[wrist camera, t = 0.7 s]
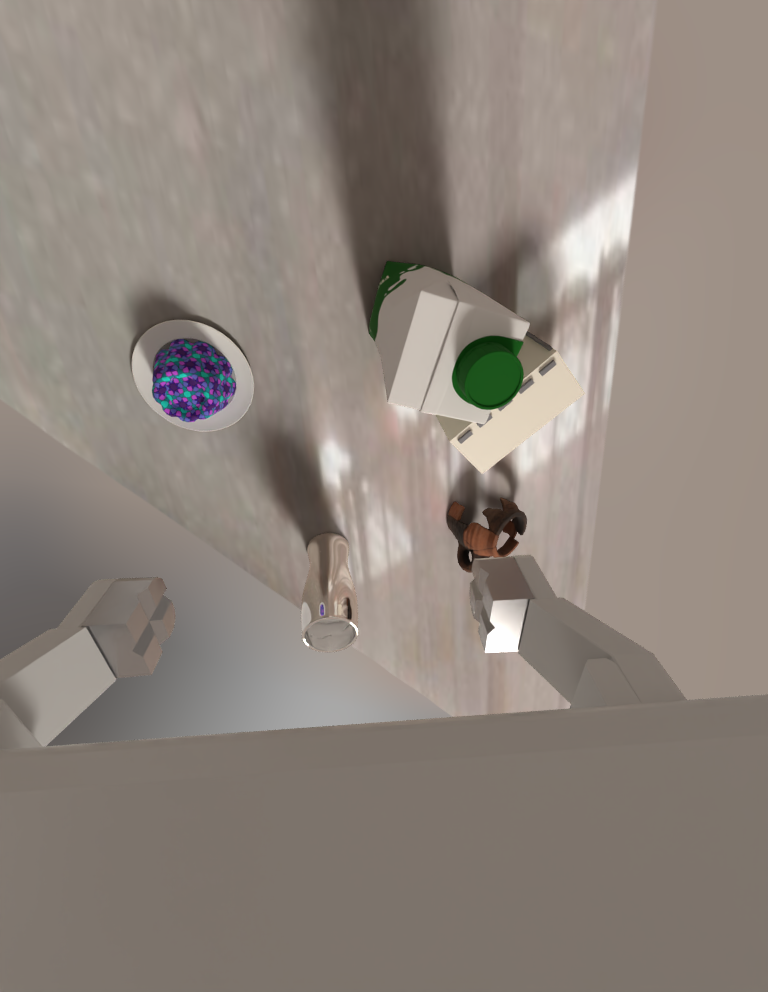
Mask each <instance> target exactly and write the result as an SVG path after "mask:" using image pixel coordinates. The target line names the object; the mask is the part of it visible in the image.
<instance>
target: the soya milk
mask: <svg viewBox="0 0 768 992" xmlns="http://www.w3.org/2000/svg"><path fill="white" fill-rule="evenodd" d="M529 325H530V323H529V322H528V321H527V320H525V319H523V318H521V317H520V316H518V315H517V314H515V313H514V312H512V311H510V310H509V309H507V308H506V307H504V306H502V305H501V304H499V303H498V302H496V301H494V300H493V299H491V298H490V297H488V296H487V295H485V294H483V293H482V292H480V291H478V290H477V289H475V288H473V287H472V286H470V285H468V284H467V283H465V282H463V281H461V280H460V279H458V278H456V277H454V276H452V275H450V274H447V273H445V272H442V271H439V270H436V269H434V268H431V267H427V266H424V265H419V264H409V263H399V262H390V261H387V262H386V266H385V269H384V272H383V275H382V278H381V281H380V284H379V287H378V290H377V294H376V298H375V302H374V306H373V310H372V314H371V319H370V323H369V334H370V336H371V337H372V338H373V340H374V341H375V343H376V346H377V348H378V351H379V354H380V357H381V361H382V367H383V374H384V381H385V387H386V394H387V402H388V403H391V404H395V405H400V406H404V407H409V408H413V409H418V410H419V411H421V412H423V413H428V414H433V415H440V416H445V417H450V418H455V419H460V420H465V421H470V422H475V423H479V424H485V423H486V421H487V419H488V417H489V414H490V412H491V410H493V409H497V408H500V407H502V406H504V405H506V404H507V403H509V402H510V401H511V400H512V399H513V398H514V397H515V396H516V395H517V393H518V392H519V390H520V388H521V386H522V382H523V377H524V372H523V367H522V364H521V362H520V361H519V359H518V358H517V356H518V354H519V352H520V350H521V347H522V345H523V343H524V342H522V341H523V338H524V336H525V334H526V332H527V330H528V328H529Z"/></svg>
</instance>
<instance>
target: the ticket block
mask: <svg viewBox="0 0 768 992" xmlns="http://www.w3.org/2000/svg"><path fill="white" fill-rule="evenodd" d="M522 342H524V343H523V345H522V347H521V350H520V352H519V354H518V356H517V358H518V359H519V361H520V362H521V364H522V367H523V372H524V377H523V382H522V386H521V388H520V390H519V392H518V393H517V395H516V396H515V397H514V398H513V399H512V400H511V401H510V402H509V403H507V404H506V405H504V406H502V407H500V408H497V409H493V410H491V412H490V414H489V417H488V419H487V421H486V423H485V424H479V423H475V422H470V421H465V420H460V419H455V418H450V417H445V416H440V415H436V417H437V419H438V421H439V423H440V424H441V426H442V428H443V430H444V432H445V434H446V436H447V438H448V440H449V441H450V442H451V443H452V444H453V445H454V446H455V447H456V448H457V450H458V451H459V452H460V453H461V454H462V455H463V456H464V457H465V458H466V459H467V460H468V461H469V462H470V463H471V464H472V465H473V466H474V467H475V468H476V469H477V470H478V471H479V472H480V473H481V474H483V473H484V472H486V471H487V470H488V469H489V468H491V467H492V466H493V465H495V464H496V463H497V462H498V461H500V460H501V459H502V458H503V457H505V456H506V455H507V454H509V453H510V452H511V451H512V450H514V449H515V448H516V447H517V446H519V445H520V444H521V443H523V442H524V441H525V440H526V439H528V438H529V437H530V436H531V435H533V434H534V433H535V432H537V431H538V430H539V429H540V428H542V427H543V426H544V425H546V424H547V423H548V422H549V421H551V420H552V419H553V418H554V417H556V416H557V415H558V414H560V413H561V412H562V411H563V410H565V409H566V408H567V407H568V406H570V405H571V404H572V403H574V402H575V401H576V400H577V399H579V398H580V397H581V396H582V395H584V394H585V393H584V391H583V390H582V388H581V387H580V385H579V384H578V382H577V381H576V379H575V378H574V376H573V375H572V373H571V372H570V370H569V369H568V367H567V366H566V364H565V363H564V361H563V360H562V358H561V357H560V355H559V354H558V352H557V351H556V350H554V349H553V348H552V347H551V346H550V345H548V344H546V343H545V342H543V341H542V340H540V339H539V338H537V337H536V336H534V335H532V334H531V333H529V332H528V331H527V332H526V334H525V336H524V338H523V341H522Z"/></svg>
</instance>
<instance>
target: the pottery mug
mask: <svg viewBox="0 0 768 992" xmlns="http://www.w3.org/2000/svg"><path fill="white" fill-rule="evenodd" d="M500 501H501V503H502V507H503V511H502V510H501V509H491V508H487V509H485V510H484V511H483V512H482V513H483V515H485V516H486V517H487V521H488V524H489V529H487V528H484V527H483V526H481V525H480V524H479V523H471V524H469V525H467V524H464V523H462V522H461V521H460V519H461V516H462V514H463V511H464V510H465V507H464V506H462V505H459V504H458V503H457V502H454V503H453V504H452V506H451V508H450V510H449V514H448V518H447V524H448V527H449V529H450V530H451V531H452V533H453V534H454V535H455V537H456V539H457V540H458V543H459V547H458V553H457V558H458V563H459V565H460V566H461V568H462V569H463V570H465V571H466V572H472V564H473V561H474V559H479V558H489V557H490V556H493V557H494V558H495V557H506V556H508V555H509V554H510V553H511V552H512V551H513V550H514V549H515V548H516V547H517V545H518V544H519V542H518V541H517V540H515V539H514V538H515V536H516V534H517V532H518V533H519V534H520V535H523V533H524V532H525V529H526V524H527V518H526V515H525V514H524V512H522V511H520V510H519V509H518V507H517V505H516V504H515V503H514V502H510V501H507V500H506V499H503V498H500ZM511 519H512V521H510V520H511ZM502 530H503V532H505V533H508V534H509V535H510V537H509V538H508V540H507V541H506V543H505V544H504V545H503V546H502V547H501V548H500V549H498V550H497V548H496V545H497V541H498V538H499V535H500V533H501V531H502ZM469 551H470V552H471V554H472V561H471V562H470V560H469Z"/></svg>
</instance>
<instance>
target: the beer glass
mask: <svg viewBox="0 0 768 992" xmlns="http://www.w3.org/2000/svg"><path fill="white" fill-rule="evenodd" d="M307 553H308V558H309V562H310V567H309V572H308V576H307V579H306V583H305V587H304V591H303V596H302V604H301V625H302V640H303V642H304V644H305V645H306V646H307V647H309V648H310V649H312V650H315V651H318V652H337V651H341V650H343V649H346V648H348V647H349V646H351V645H352V644H353V643H354V642H355V641H356V639H357V637H358V604H357V596H356V592H355V588H354V584H353V581H352V578H351V575H350V572H349V568H348V556H349V544H348V542H347V540H346V539H345V538H344V537H342V536H341V535H338V534H335V533H323V534H319V535H317V536H315V537H314V538H312V539H311V540H310V542H309V544H308V546H307Z"/></svg>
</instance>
